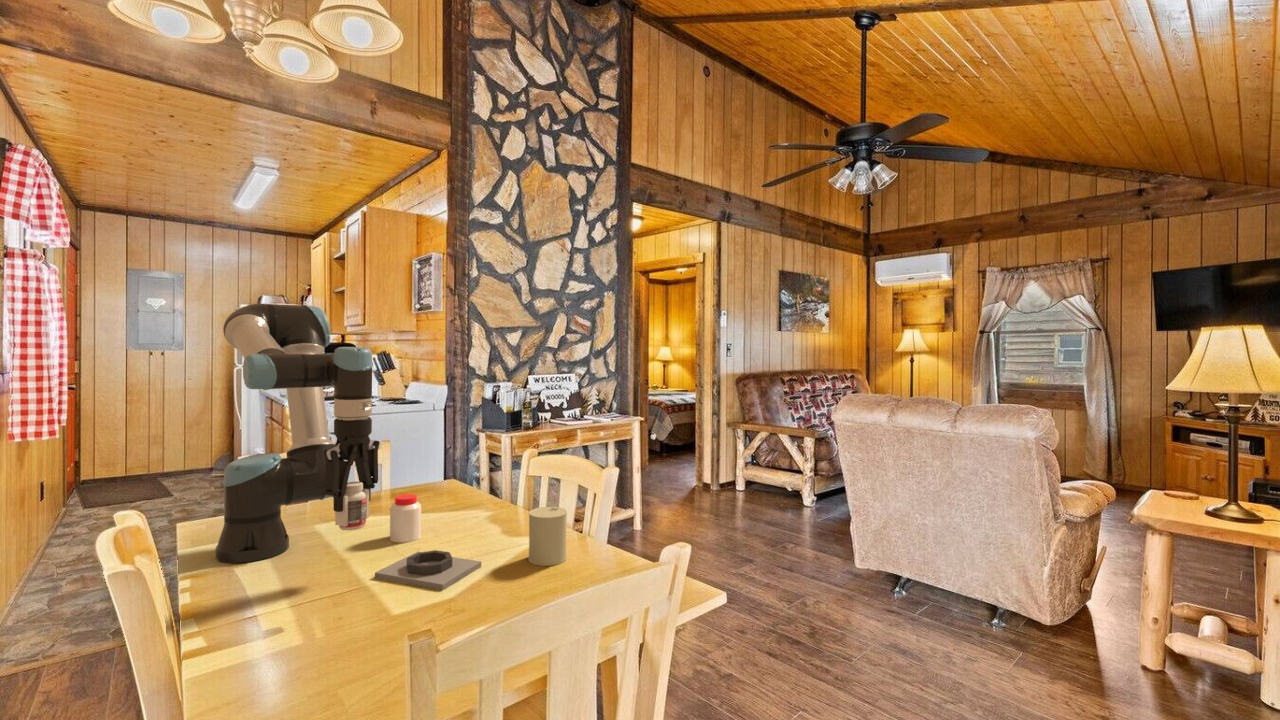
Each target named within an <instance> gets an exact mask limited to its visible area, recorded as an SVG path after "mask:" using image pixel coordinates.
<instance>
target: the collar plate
mask: <svg viewBox="0 0 1280 720" xmlns="http://www.w3.org/2000/svg"><path fill="white" fill-rule="evenodd" d="M481 567H482V561H480V560H474V559H468V558H461V557H457V556H456V557H455V556H452V554H451V552H449V551H443V550H434V549H433V550H428V551H416V552H414V553H411V554H409V555H408V556H405V557H403V558H402V559H399V560H398V561H395V562H393V563H392V564H389V565H387V566H385V567H383V568H382V569H379V570H377V571H375V572H374V579H379V580H385V581H390V582H394V583H395V582H396V583H401V584H406V585H410V586H411V585H412V586H417V587H418V586H419V587H424V588H427V589H435V590H439V591H444V590H446V589H448V588H449V587H451V586H452V585H454V584H455V583H457V582H459V581H460V580H462V579H464V578H465V577H467V576H468V575H470V574H473V572H475V571H477V570H478V569H480V568H481Z"/></svg>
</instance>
